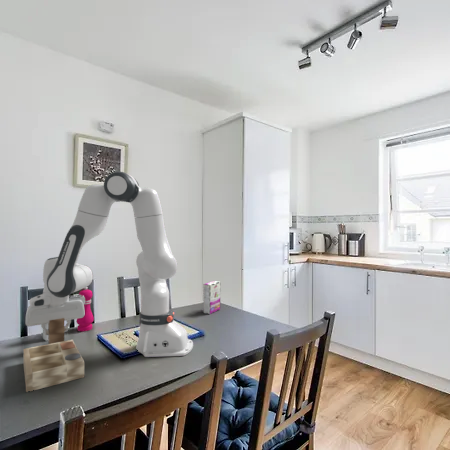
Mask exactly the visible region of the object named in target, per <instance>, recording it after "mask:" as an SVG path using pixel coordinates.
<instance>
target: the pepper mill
mask: <svg viewBox="0 0 450 450" xmlns="http://www.w3.org/2000/svg"><path fill="white" fill-rule="evenodd" d="M78 295H81V296H84V297H85V304H84V310H85V315H84V317H83V318H78V319H76V324H77V331H78V332H87V331H92V329H93V322H94V321H95V320H94V315H93V312H92V309H91V303H92V298H93V295H94V294H93V291H92V290H90V289H89V286H87V287H85V288H83V289H81V290H79V293H78Z"/></svg>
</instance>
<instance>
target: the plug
mask: <svg viewBox="0 0 450 450" xmlns="http://www.w3.org/2000/svg"><path fill="white" fill-rule="evenodd" d="M64 326H65V321H64V318H61V319H55V320H49V323H48V329H49V335H48V344H52V343H57V342H63V341H65V332H64Z"/></svg>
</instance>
